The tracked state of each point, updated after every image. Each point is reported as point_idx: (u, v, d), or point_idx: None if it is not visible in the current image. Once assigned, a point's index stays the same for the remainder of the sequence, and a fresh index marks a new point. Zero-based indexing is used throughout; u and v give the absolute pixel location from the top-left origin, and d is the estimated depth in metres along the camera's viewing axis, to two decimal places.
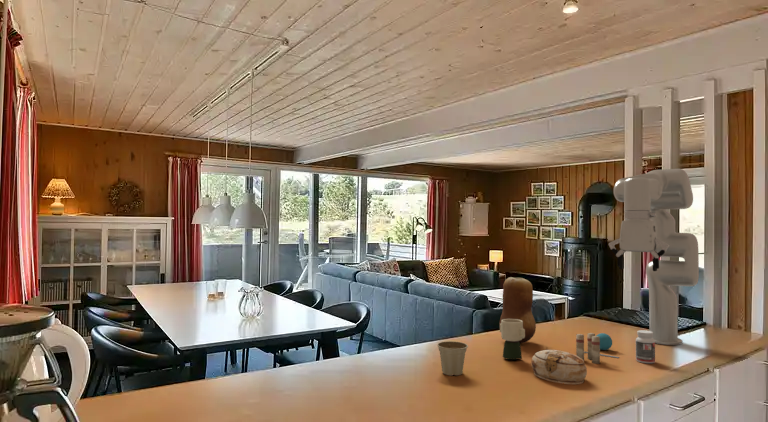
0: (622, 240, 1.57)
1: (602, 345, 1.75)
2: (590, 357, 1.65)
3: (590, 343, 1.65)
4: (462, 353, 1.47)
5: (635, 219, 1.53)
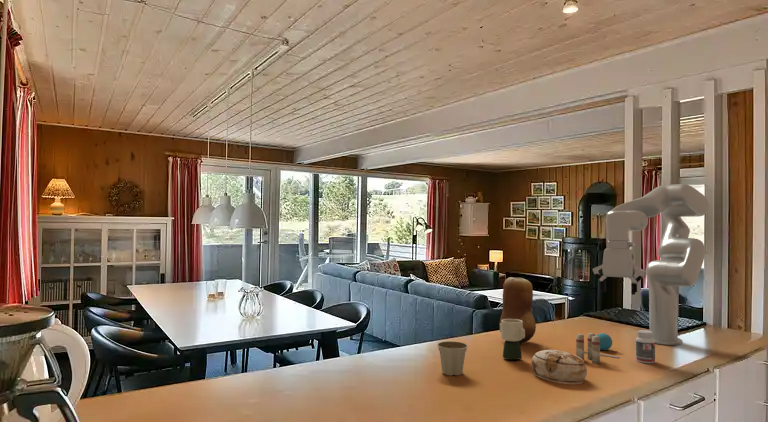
0: (605, 266, 1.76)
1: (602, 345, 1.75)
2: (590, 357, 1.65)
3: (590, 343, 1.65)
4: (462, 353, 1.47)
5: (616, 248, 1.72)
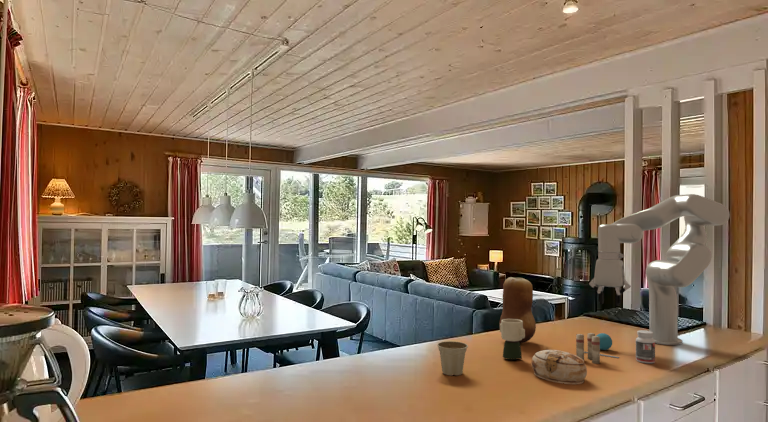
0: (596, 276, 1.87)
1: (602, 345, 1.75)
2: (590, 357, 1.65)
3: (590, 343, 1.65)
4: (462, 353, 1.47)
5: (607, 259, 1.83)
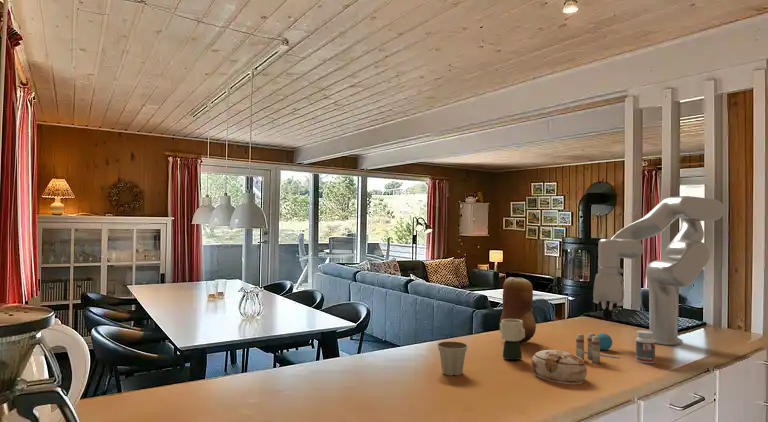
0: (595, 291, 1.86)
1: (602, 345, 1.75)
2: (590, 357, 1.65)
3: (590, 343, 1.65)
4: (462, 353, 1.47)
5: (606, 274, 1.83)
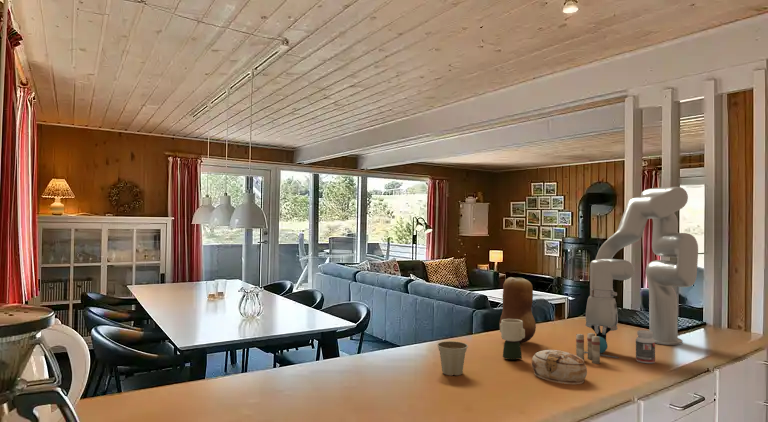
0: (588, 314, 1.78)
1: None
2: (590, 357, 1.65)
3: (590, 343, 1.65)
4: (462, 353, 1.47)
5: (598, 297, 1.74)
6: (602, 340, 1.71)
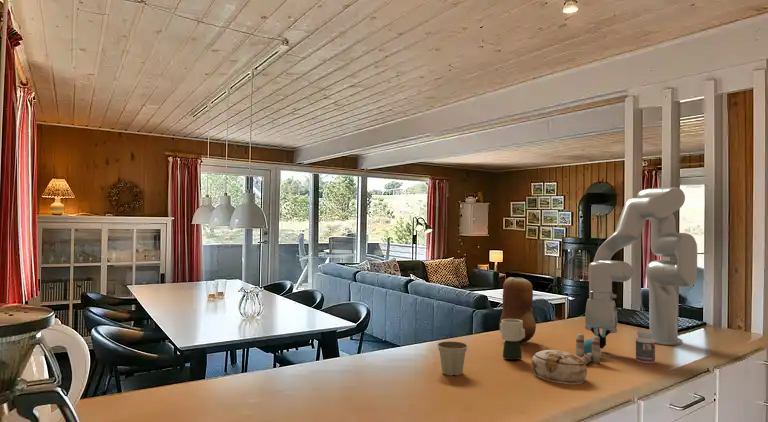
0: (587, 317, 1.76)
1: None
2: None
3: None
4: (462, 353, 1.47)
5: (598, 300, 1.73)
6: None
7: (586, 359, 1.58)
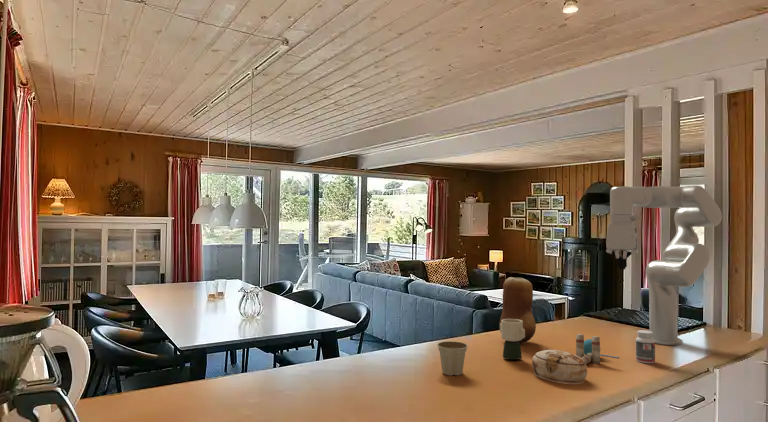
0: (608, 240, 1.82)
1: None
2: None
3: None
4: (462, 353, 1.47)
5: (619, 222, 1.78)
6: None
7: (586, 359, 1.58)
